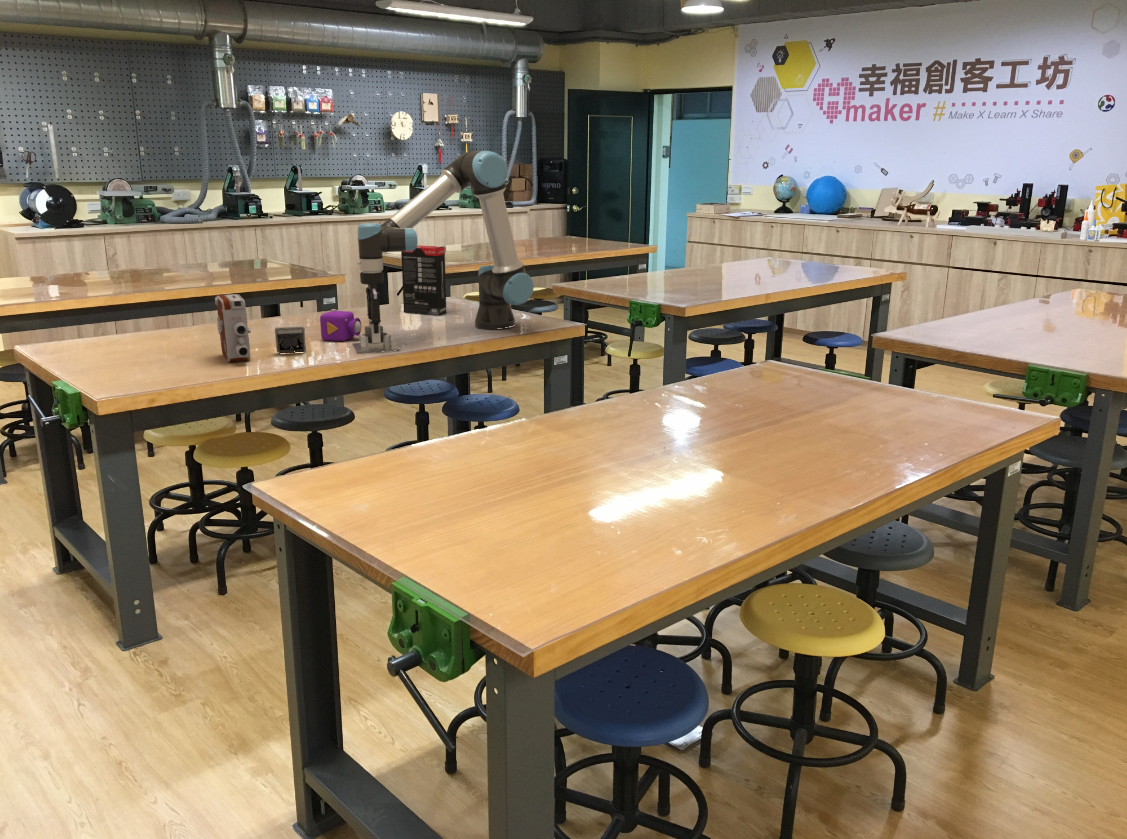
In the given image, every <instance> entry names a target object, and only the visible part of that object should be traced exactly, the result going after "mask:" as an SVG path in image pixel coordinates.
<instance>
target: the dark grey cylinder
mask: <svg viewBox="0 0 1127 839" xmlns="http://www.w3.org/2000/svg"><path fill="white" fill-rule="evenodd" d="M383 332H384V326H382V325H380V337H381V343H382V342H384V340H383ZM364 333H365V336H367V337H368V343H371V344H376V343H372V329H371V325H369V324H368V325H366V326H364Z"/></svg>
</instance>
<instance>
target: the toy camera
mask: <svg viewBox="0 0 1127 839" xmlns="http://www.w3.org/2000/svg"><path fill="white" fill-rule="evenodd" d="M354 314H355V313H353V312H352V311H348V310H347V311H346V310H337V309H335V308H333V309H331V310H330V311H326V312H324V313H323V314H321V315H320V316H319V323H320V325H319V327H320V335H321V339H322V340H323V341H326V340H327V341H330V342H332V341H333V342H346V341H348V340H350V339H352V338H354V337H355V336H356V337H359V335H360V334H361V332H362V322H361V321H362V320H361V319H360V317H355V315H354ZM327 341H326V342H327Z"/></svg>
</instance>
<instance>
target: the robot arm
mask: <svg viewBox="0 0 1127 839" xmlns="http://www.w3.org/2000/svg"><path fill="white" fill-rule="evenodd" d="M508 174H509V170H508V165H507V163H506V161H505V159H504V158H503V157H502V155H500V154H499V153H497V152H495V151H491V150H470V151H467V152H464V153H462V154H461V155H459V156H458V157H457V158H455V159H454V160H453V161H452V162H450V163H449V164H448V165H447V166H446V167H445V168H444V169H442V170H441V175H440V176H438V177H437V178H436V179H435V180H434V181H432V182H431V183H430V184H429V185H428V186H427V187H425V188H424V189H423V190H422V191H421V192H418V194H417V195H415V197H413V198H412V199H410V201H408V202H407V203H406V204H405V205H403V207H401V208H400V209H399V210H397V211H396V212H395V213H394V214H393V215H391V217H389V218H388V219H387V220H385V221H384V222H383V223H376V222H364V223H360V224H358V226H357V244H358V258H359V259H358V260H359V261H357V265H359V271H361V272H359V277H360V278H359V279H360V280H359V281H360V284H362V285H367V287H366V288H365V293H366V306H367V317H368V326H369V325H371V329H372V343H381V337H380V326H381V322H382V320H381V310H380V309H381V308H380V307H381V306H380V289H379V288H378V286H377V285H381V284H384V280H385V279H384V278H385V277H384V272H383V270H384V258H383V253H397V252H402V251H406V252H407V251H413V250H415V249H416V247H417V245H418V243H419V242H418V234H417V232H416V229H414V228H415V227H416V226H417V225H418V224H419V223H420V222H422V221H423V220H424V219H426V218H427V216H429V215H430V214H431V213H433V212H434V211H435V210H437V208H439V207H440V206H441V205H442V204H443V203H445V202H447V200H449V199H450V198H451V196H453V195H455V193H457V194H460V193H461V192H462V191H464V190H465V189H467V188H469V187H471V189H472V190H471V191H472V195H473V196H475V198H477V199H478V200H479V204H480V209H481V213H482V217H483V222H484V225H485V230H486V234H487V238H488V242H489V245H490V246H489V247H490V251H491V254H492V258H493V259H492V260H493V262H494V264H491V265H490V264H489V265H481V266H479V268H478V275H477V278H478V300H479V301H478V302H479V305H478V309H477V312H476V315H475V320H474V324H475V325H474V326H475V327H476V328H477V329H481V328H483V330H498V329H497V328H505V327H509V326H513V325H515V326H516V319H515V316H514V313H513V312H514V311H513V309H512V306H514V305H515V306H519V305H523V304H525V303H526V302H528V300H530V298H531V296H532V295H533V293H534V288H535V287H534V281H533V279H532V278H531V276H530V275H529V274H528V273H526V268H525V265H524V262H522V261H521V260H519V258H518V253H517V249H516V244H515V240H514V235H513V231H512V226H511V221H510V219H509V218H510V217H509V213H508V209H507V205H506V204H507V203H506V201H505V196H504V192H505V191H506V189H507V185H506V181H507V178H508ZM511 305H512V306H511Z"/></svg>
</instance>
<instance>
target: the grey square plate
mask: <svg viewBox="0 0 1127 839" xmlns="http://www.w3.org/2000/svg"><path fill="white" fill-rule="evenodd" d="M358 337H359V342H356V343H355V342H353V343H352V344H351V345H352V347H353V349H354V351H355V350H356V351H355V352H356V354H357V353H361V354H371V352H376V353H383V352H382V351H391V352H395V351H394V350H400V351H401V348H400V347H399V346H398V344H397V343H396V342H395V341H394V340H392V333H391V332H388V331H383V340H384V342H382V343H376V344H371V343H368V337H367V336H365V332H362V333H360V335H359V336H358ZM369 352H370V353H369Z"/></svg>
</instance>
